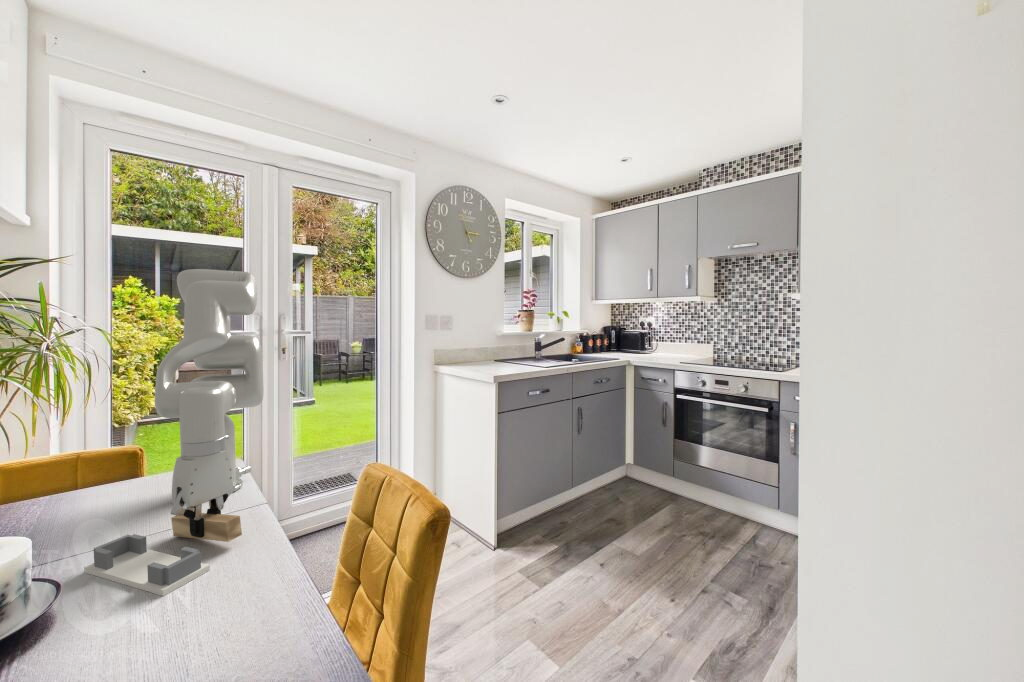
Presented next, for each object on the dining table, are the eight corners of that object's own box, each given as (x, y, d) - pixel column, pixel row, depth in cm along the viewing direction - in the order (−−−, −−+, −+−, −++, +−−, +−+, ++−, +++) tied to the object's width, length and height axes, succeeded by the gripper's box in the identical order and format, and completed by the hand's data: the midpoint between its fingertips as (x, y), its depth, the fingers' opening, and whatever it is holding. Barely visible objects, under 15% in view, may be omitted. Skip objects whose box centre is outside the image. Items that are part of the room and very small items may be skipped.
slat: (187, 529, 95) (185, 511, 94) (241, 534, 89) (239, 515, 89) (173, 535, 92) (171, 517, 92) (228, 541, 87) (226, 522, 86)
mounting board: (134, 550, 87) (133, 531, 87) (209, 570, 80) (209, 549, 80) (84, 572, 79) (83, 551, 79) (163, 596, 73) (162, 573, 72)
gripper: (226, 434, 98) (229, 512, 99) (147, 456, 83) (151, 548, 84) (251, 438, 96) (253, 517, 97) (174, 461, 80) (178, 556, 82)
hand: (206, 531), depth 91 cm, fingers closed on slat, 2 cm apart
